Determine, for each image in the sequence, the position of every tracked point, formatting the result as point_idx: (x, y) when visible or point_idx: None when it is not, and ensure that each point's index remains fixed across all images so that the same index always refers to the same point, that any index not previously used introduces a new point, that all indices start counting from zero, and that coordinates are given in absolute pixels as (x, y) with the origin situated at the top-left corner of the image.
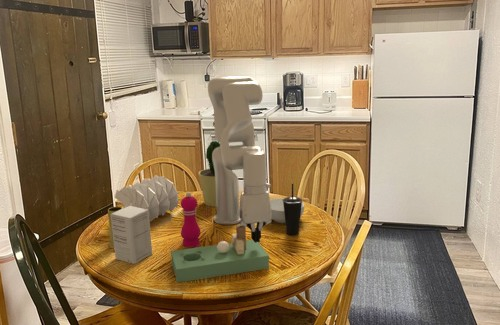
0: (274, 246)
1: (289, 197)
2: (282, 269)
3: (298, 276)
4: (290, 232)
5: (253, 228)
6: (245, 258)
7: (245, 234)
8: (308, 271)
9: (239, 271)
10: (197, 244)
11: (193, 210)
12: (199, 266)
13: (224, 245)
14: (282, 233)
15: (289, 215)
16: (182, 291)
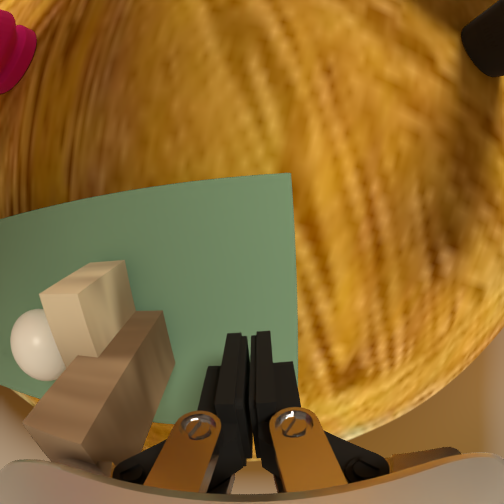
0: (396, 142)
1: None
2: (339, 391)
3: (364, 430)
4: (485, 62)
5: (211, 489)
6: (170, 420)
7: (141, 445)
8: (409, 406)
9: None
10: (18, 75)
11: None
12: (19, 390)
13: (43, 380)
14: (446, 25)
15: None
16: (29, 398)
